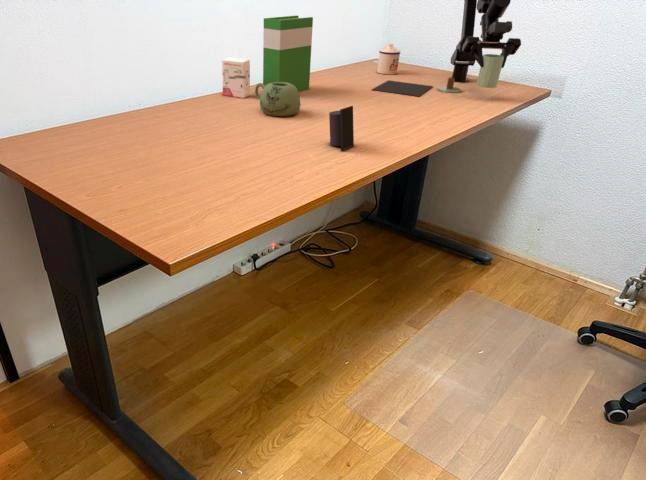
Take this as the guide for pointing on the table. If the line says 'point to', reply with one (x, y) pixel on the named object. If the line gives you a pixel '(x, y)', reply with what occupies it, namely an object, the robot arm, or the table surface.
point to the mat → (403, 88)
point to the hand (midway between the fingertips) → (492, 66)
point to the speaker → (342, 128)
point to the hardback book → (287, 50)
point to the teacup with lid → (388, 60)
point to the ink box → (236, 77)
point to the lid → (449, 87)
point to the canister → (490, 71)
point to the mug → (279, 99)
